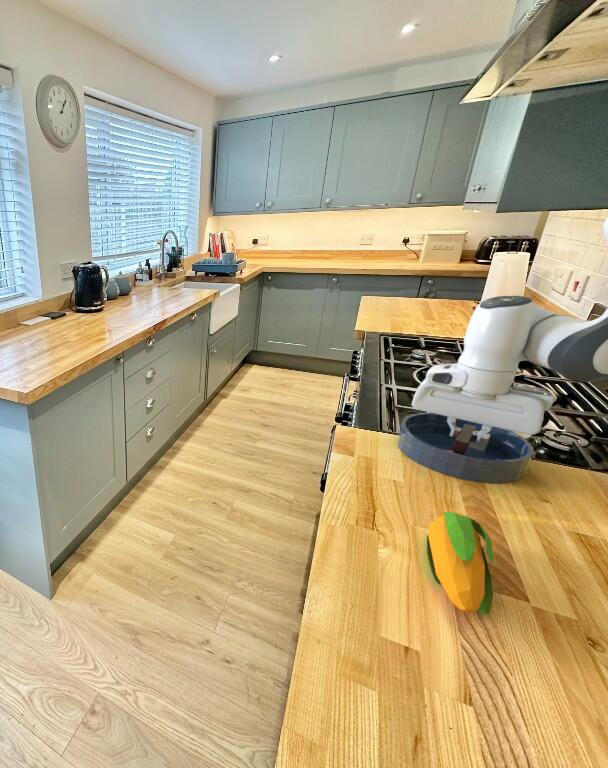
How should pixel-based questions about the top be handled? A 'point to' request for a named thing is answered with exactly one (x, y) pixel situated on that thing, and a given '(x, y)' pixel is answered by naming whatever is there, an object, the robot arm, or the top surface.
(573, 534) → the top surface
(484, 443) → the cream block
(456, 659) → the top surface
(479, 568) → the corn
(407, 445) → the bowl
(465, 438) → the brown bar
